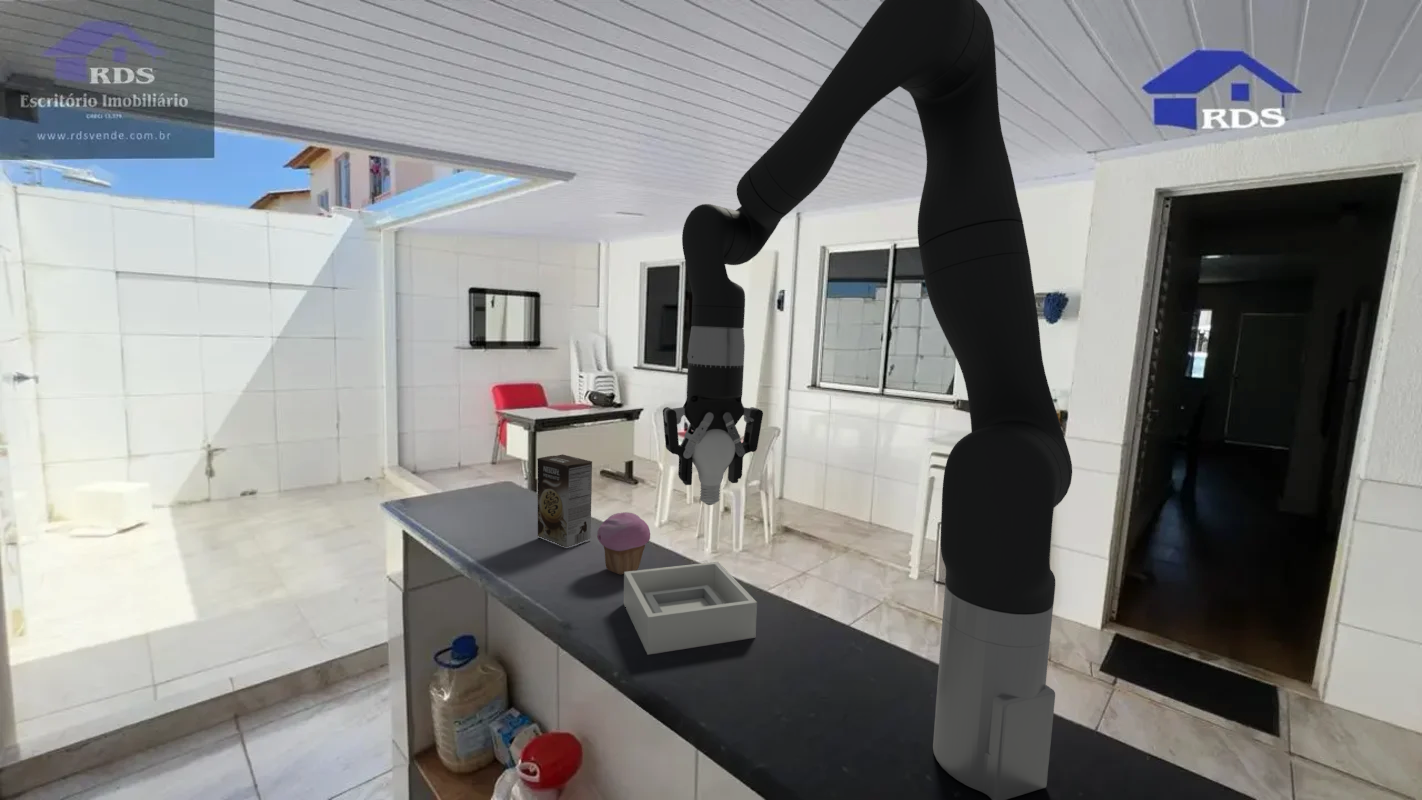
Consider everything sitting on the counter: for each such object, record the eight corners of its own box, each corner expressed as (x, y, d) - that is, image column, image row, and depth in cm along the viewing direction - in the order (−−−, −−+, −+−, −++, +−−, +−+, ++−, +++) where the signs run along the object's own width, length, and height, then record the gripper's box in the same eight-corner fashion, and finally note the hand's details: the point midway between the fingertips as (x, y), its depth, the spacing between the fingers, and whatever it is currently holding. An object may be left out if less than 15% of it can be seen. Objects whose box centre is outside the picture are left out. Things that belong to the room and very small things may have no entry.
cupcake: (633, 557, 108) (634, 503, 107) (658, 573, 101) (660, 516, 100) (588, 568, 103) (588, 511, 102) (612, 585, 96) (613, 525, 95)
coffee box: (535, 539, 116) (535, 457, 115) (562, 531, 122) (562, 453, 120) (566, 550, 111) (566, 465, 109) (592, 541, 116) (593, 459, 114)
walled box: (755, 637, 81) (756, 602, 80) (647, 654, 76) (648, 617, 75) (717, 591, 95) (717, 561, 94) (623, 603, 90) (624, 571, 89)
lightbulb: (727, 513, 79) (731, 431, 77) (681, 508, 80) (684, 427, 79) (735, 500, 85) (739, 424, 84) (692, 495, 86) (695, 420, 85)
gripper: (671, 362, 74) (666, 493, 76) (776, 364, 79) (769, 487, 81) (657, 358, 81) (652, 478, 83) (754, 360, 86) (747, 474, 88)
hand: (710, 482), depth 82 cm, fingers closed on lightbulb, 6 cm apart
